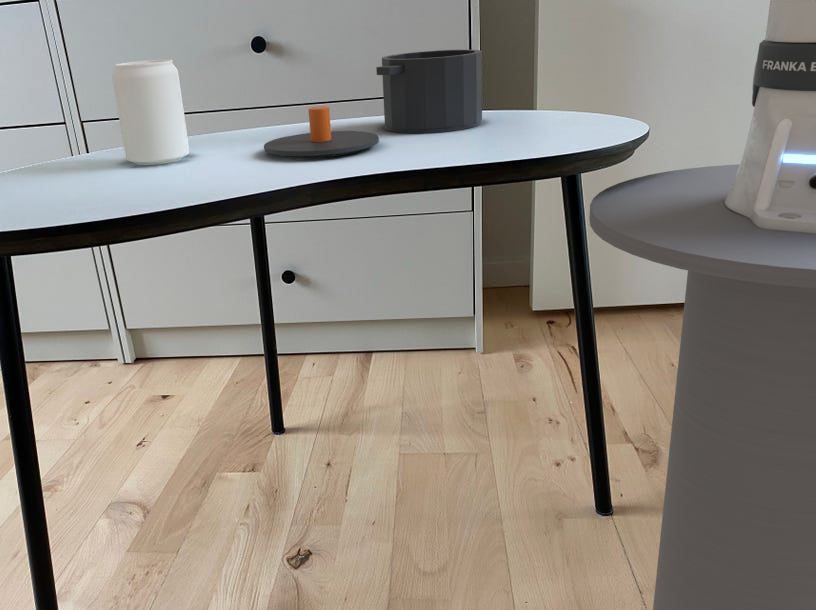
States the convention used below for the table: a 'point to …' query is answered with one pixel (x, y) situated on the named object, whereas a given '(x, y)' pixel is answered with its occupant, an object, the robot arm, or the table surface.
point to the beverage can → (150, 111)
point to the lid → (321, 139)
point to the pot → (432, 91)
